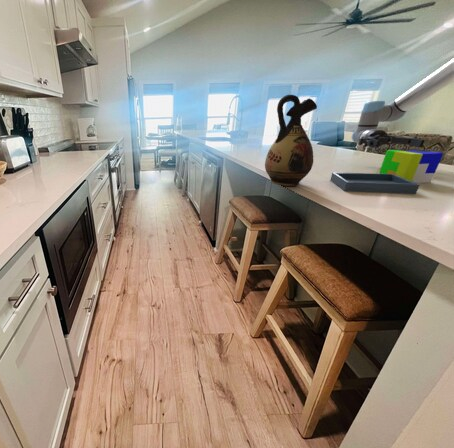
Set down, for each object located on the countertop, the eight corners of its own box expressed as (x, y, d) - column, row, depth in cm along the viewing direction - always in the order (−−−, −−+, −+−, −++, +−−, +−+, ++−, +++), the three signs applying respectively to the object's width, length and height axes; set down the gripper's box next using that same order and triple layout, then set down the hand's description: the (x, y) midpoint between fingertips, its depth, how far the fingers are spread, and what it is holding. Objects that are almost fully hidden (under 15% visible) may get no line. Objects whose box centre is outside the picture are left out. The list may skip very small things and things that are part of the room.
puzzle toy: (430, 182, 84) (443, 153, 80) (401, 183, 84) (412, 154, 80) (404, 175, 93) (414, 149, 89) (377, 176, 93) (386, 150, 89)
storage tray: (390, 182, 86) (393, 173, 85) (415, 194, 74) (419, 184, 73) (330, 180, 92) (332, 172, 91) (344, 191, 79) (346, 182, 78)
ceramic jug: (296, 178, 97) (313, 94, 85) (316, 188, 83) (340, 90, 71) (253, 178, 99) (263, 96, 87) (265, 189, 85) (279, 93, 73)
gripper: (404, 146, 108) (437, 154, 90) (339, 146, 116) (357, 153, 98) (411, 128, 105) (446, 132, 87) (343, 130, 113) (363, 133, 95)
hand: (399, 143), depth 92 cm, fingers open, 13 cm apart
